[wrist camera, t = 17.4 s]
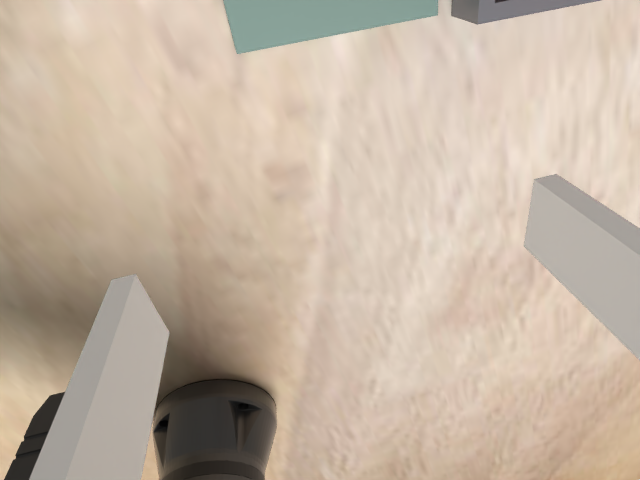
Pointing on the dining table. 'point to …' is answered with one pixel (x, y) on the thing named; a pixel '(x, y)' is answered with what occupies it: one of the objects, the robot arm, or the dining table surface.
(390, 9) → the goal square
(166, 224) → the dining table surface
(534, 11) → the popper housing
